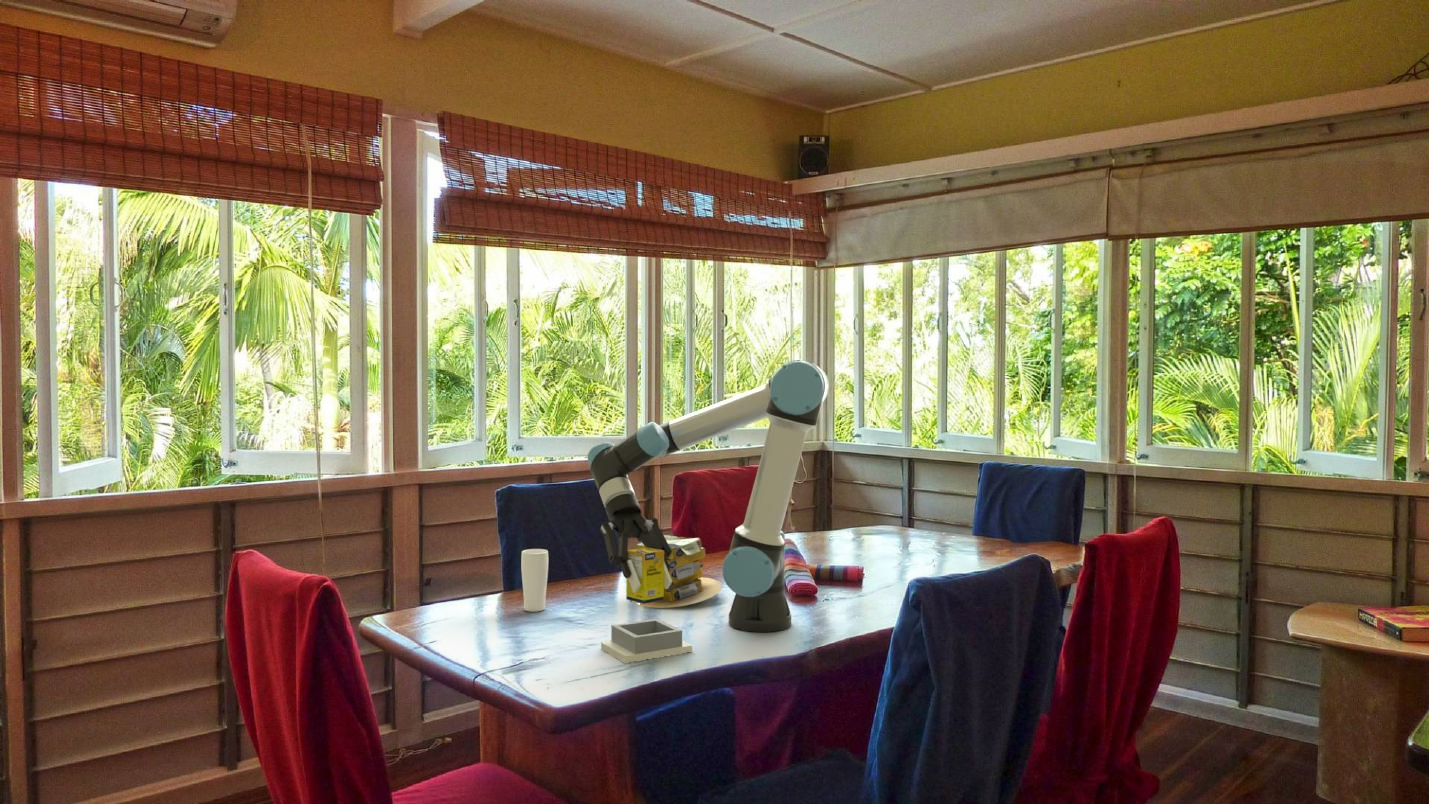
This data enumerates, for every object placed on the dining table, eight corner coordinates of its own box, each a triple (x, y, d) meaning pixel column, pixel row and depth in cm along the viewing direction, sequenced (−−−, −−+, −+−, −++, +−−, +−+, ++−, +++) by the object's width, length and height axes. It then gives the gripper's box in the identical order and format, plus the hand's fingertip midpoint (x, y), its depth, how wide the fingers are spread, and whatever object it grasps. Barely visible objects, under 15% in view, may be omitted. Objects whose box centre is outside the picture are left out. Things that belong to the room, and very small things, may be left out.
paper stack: (655, 614, 240) (656, 548, 239) (614, 593, 261) (615, 533, 261) (738, 603, 252) (739, 540, 252) (693, 584, 274) (694, 526, 273)
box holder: (665, 638, 217) (665, 617, 217) (692, 652, 207) (692, 629, 207) (601, 649, 209) (601, 626, 208) (625, 663, 198) (625, 639, 198)
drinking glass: (553, 609, 243) (553, 551, 242) (531, 614, 238) (531, 554, 237) (537, 605, 247) (537, 547, 247) (515, 609, 242) (515, 551, 242)
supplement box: (664, 600, 208) (665, 550, 207) (643, 604, 203) (644, 553, 203) (646, 595, 212) (647, 546, 211) (625, 599, 207) (626, 549, 207)
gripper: (653, 509, 225) (686, 591, 212) (575, 515, 215) (605, 602, 201) (664, 489, 220) (699, 572, 207) (585, 494, 210) (616, 582, 197)
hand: (652, 587), depth 204 cm, fingers closed on supplement box, 7 cm apart
